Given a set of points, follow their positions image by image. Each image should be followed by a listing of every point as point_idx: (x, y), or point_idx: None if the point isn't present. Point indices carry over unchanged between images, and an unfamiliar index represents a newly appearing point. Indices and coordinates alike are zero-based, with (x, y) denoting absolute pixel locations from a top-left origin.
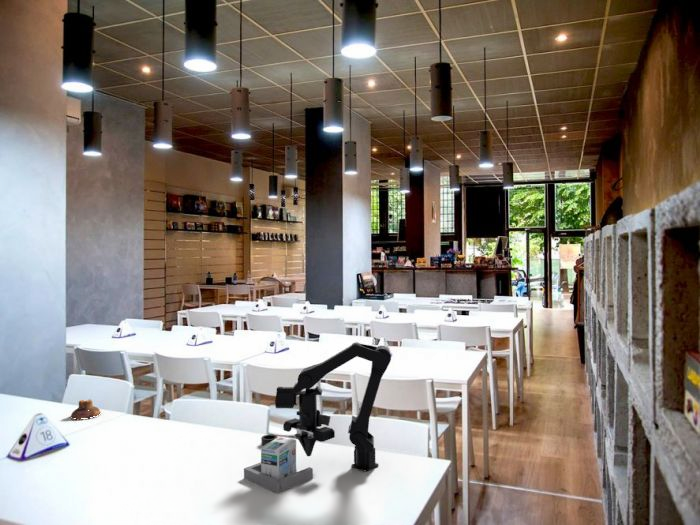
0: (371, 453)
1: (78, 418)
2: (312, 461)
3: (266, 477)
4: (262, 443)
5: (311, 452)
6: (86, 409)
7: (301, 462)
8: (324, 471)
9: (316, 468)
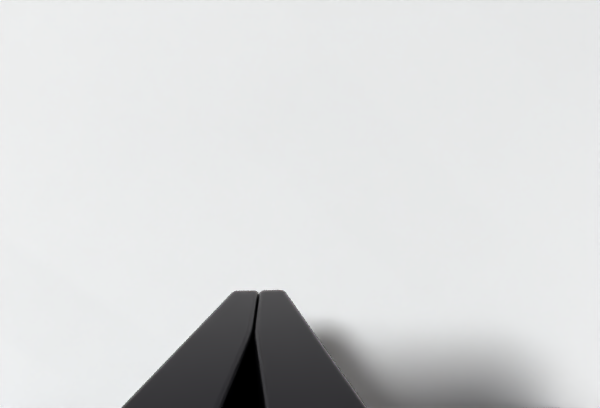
0: None
1: None
2: (151, 59)
3: None
4: None
5: (304, 330)
6: None
7: (69, 200)
8: (568, 205)
9: (406, 206)
